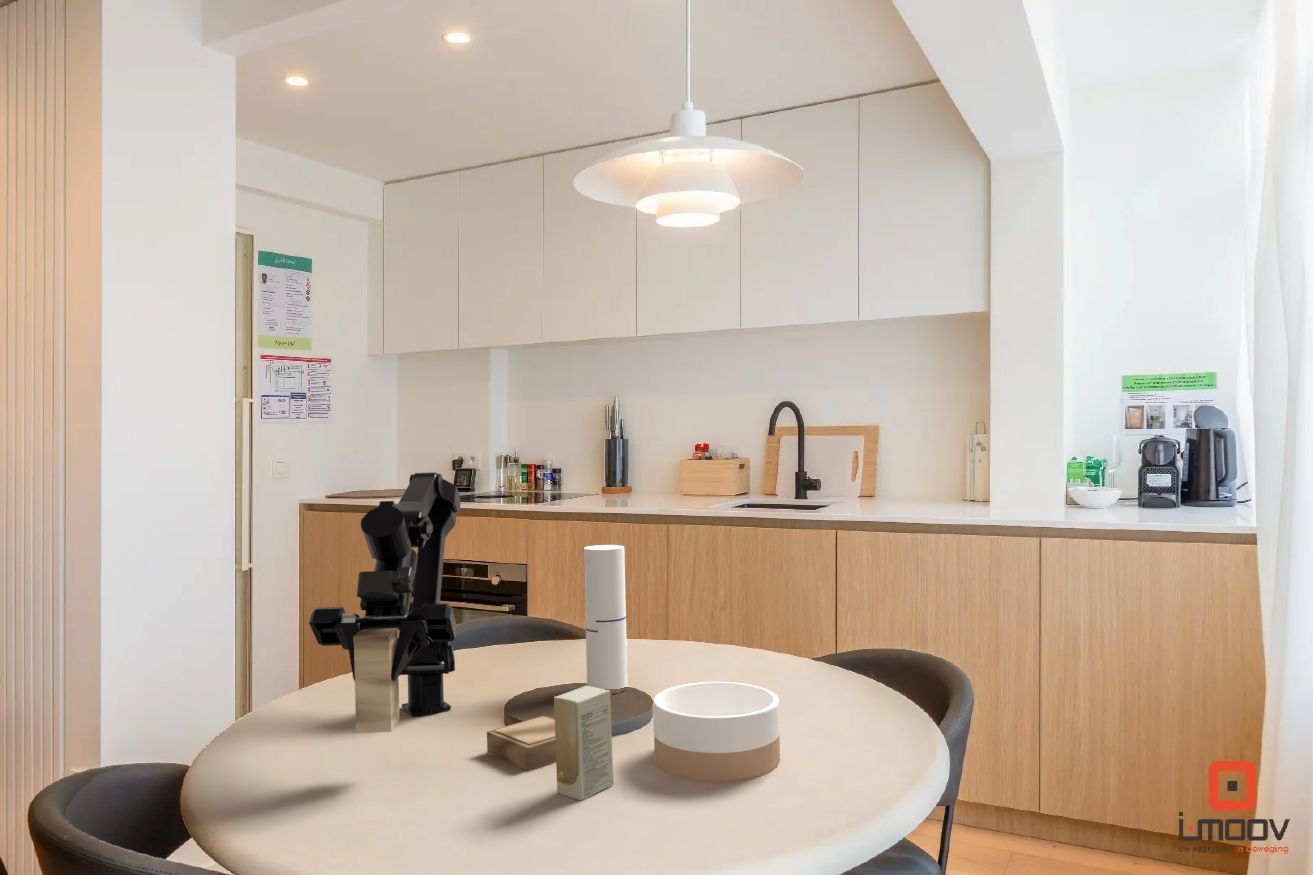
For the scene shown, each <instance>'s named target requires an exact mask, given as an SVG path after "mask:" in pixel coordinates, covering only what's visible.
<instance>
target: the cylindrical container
mask: <svg viewBox="0 0 1313 875" xmlns="http://www.w3.org/2000/svg"><path fill="white" fill-rule="evenodd" d="M583 556H584V557H583V559H584V560H583V562H584V567H583V568H584V603H585V606H584V608H585V609H584V610H585V615H584V616H585V647H586V649H585V652H586V653H585V656H586V686H587V685H588V686H592V687H596V688H601V689H620V688H624V687H628V688H629V686H628V654H627V653H628V650H627V649H628V648H627V647H628V646H627V641H628V640H627V617H626V616H627V607H626V605H627V603H626V602H627V600H626V565H625V564H626V563H625V562H626V558H625V557H626V556H625V546H624V545H619V544H618V545H617V544H599V545H588V546H585V547H584V548H583Z"/></svg>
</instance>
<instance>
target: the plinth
mask: <svg viewBox="0 0 1313 875" xmlns="http://www.w3.org/2000/svg"><path fill="white" fill-rule="evenodd" d="M486 752H487V754H489V755H491V756H494V757H496V758H498V759H500V760H503V761H505V762H508V763H509V764H512V765H515V766H517V767H519V768H522V769H524V770H527V771H529V772H530V771H532V770H535V769H536V770H537V769H538V768H542V767H543V766H548V765H551V764H554V763H556V741H555V718H553V717H550V716H547V715H541V716H537V717H534V718H531V719H530V718H529V719H527V720H523V721H520V722H517V723H512V724H509V725H505V726H503V727H498V728H495V729H492V730H488V731H486Z"/></svg>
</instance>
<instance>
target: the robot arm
mask: <svg viewBox="0 0 1313 875" xmlns="http://www.w3.org/2000/svg"><path fill="white" fill-rule="evenodd" d="M408 483H409V484H408V485H407V486H406V488H405V491H404V492H403V494H402V496H401V498H400V500H399V502H398V503H395V500H380V501H379V504H378V506H377V507H374V508H372V509H371V510H369V511H368V512H367V513H365V514H364V516H363V517H362V518H361V520H360V528H361V530H362V533H363V536H364V540H365V543H366V546H367V548H368V551H369V555H370V557H371V558H372V559H375V564H374V568H373V571H372V570H371V571H369V570H368V571H360V572H359V573H358V580H357V590H356V597H357V598H360V603H359V608H360V610H361V611H364V615H359V614H357V613H355V612H354V613H353V612H352V613H349V612H346V611H345V608H344V606H327V607H326V606H323V607H321V606H320V607H317V608H315V609H314V610H313V611H312V612H311V615H310V619H309V623H308V624H309V626H310V628H311V631H312V633H313V636H314V637H315V639H316V642H317V644H318V645H321V646H323V647H324V646H325V647H326V646H330V647H331V646H341V648H342V649H343V650H348V655H349V659H350V667H351V674H352V678H353V681H354V682H355V666H354V643H353V637H354V636H355V635H356V634H358V633H359V632H360V631H362V630H363V629H385V628H398V646H397V650H396V654H395V658H394V662H393V665H392V673H391V678H392V681H395V680H396V679H397V678H398V679H399V677H400V676H406V675H407V700H408V701H407V702H408V703H407V702H405V703H402V704H401V709H403V711H406V712H407V713H408V714H409V715H411V716H413V717H416V716H422V715H426V714H433V713H438V712H444V711H448V710H451V709H452V706H451V704H449V703H447V702H446V701H445V699H444V698H445V697H444V675H449V673H451V672H455V671H456V659H455V653H454V648H453V647H454V646H453V645H452V643H451V642H453V641H454V640H456V635H457V622H456V617H455V614H454V609H453V607H452V606H451V604H450V603H448V602H447V603H441V591H442V582H443V581H442V580H443V567H444V559H445V556H444V555H445V546H446V545H445V544H446V537H447V536H448V535H449V533H450V532H451V531H452V530H453V529H454V527H455V526H456V522H457V521H456V520H457V515H458V514H459V513H460V511H461V495H460V492H459V490H458V487H457V485H455V484H454V483H452V482H450V481H448V480H446V479H444V478H443V476H442V474H441V473H438V472H437V471H436V472H435V471H433V472H415V473H414V474H413V473H412V474H410V476H409V482H408ZM414 548H415V549H416V548H417V551H415V550H414ZM412 592H413V593H412ZM412 594H413V595H412ZM410 605H411V606H410ZM410 607H411V610H410V612H409V609H410Z"/></svg>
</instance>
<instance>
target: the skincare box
mask: <svg viewBox="0 0 1313 875" xmlns="http://www.w3.org/2000/svg"><path fill="white" fill-rule="evenodd" d="M553 704H554V705H553V706H554V707H553V708H554V709H553V710H554V719H555V741H556V762H555V763H556V764H555V765H556V767H555V768H556V791H557V794H561V795H562V796H566V797H569V798H572V799H576V800H578V801H583V800H585V799H587V798H589V797H591V796H593V795H596V794H597V793H599V792H601V791H603V790H605V789H606V788H609V787H610V786H613V785H614V765H613V764H614V763H613V762H614V761H613V742H612V741H613V740H612V712H611V711H612V709H611V706H612V705H611V694H610V690H605V689H601V688H596V687H592V686H587V685H584V686H581V687H578V688H576V689H572V690H570V691H567V692H564V693H562V694H559V695H557V696H553Z"/></svg>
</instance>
